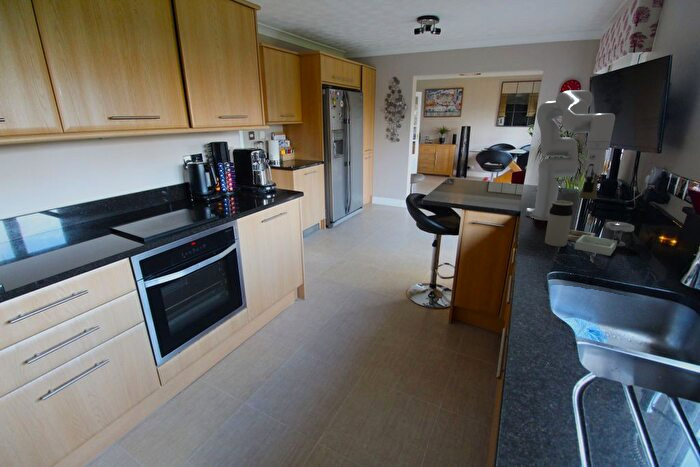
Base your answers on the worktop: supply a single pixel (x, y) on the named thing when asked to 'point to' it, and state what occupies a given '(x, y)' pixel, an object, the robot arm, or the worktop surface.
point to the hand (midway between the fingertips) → (589, 190)
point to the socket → (578, 234)
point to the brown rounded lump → (594, 194)
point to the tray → (596, 245)
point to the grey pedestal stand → (619, 230)
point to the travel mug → (559, 223)
